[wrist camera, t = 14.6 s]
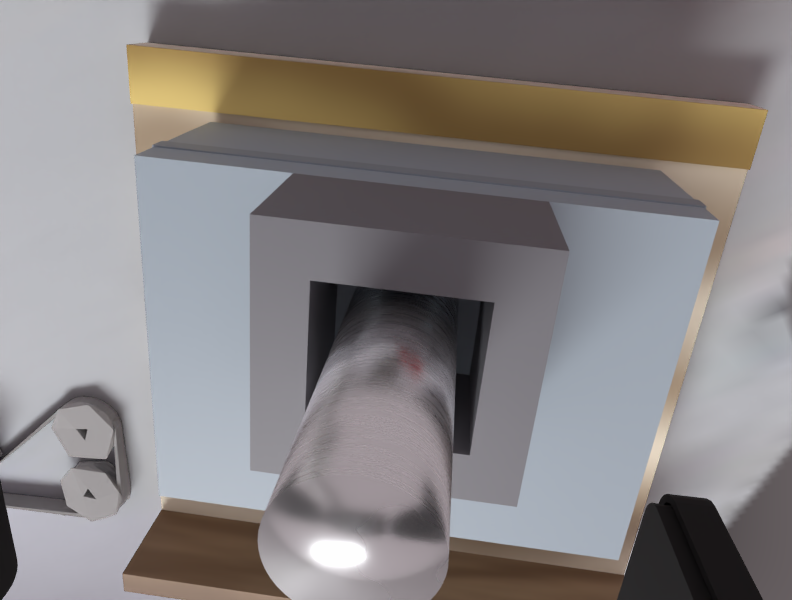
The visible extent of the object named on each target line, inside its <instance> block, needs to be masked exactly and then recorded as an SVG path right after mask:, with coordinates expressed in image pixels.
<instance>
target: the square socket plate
mask: <svg viewBox="0 0 792 600" xmlns="http://www.w3.org/2000/svg"><path fill="white" fill-rule="evenodd" d="M134 159H135V172H136V186H137V200H138V214H139V227H140V241H141V255H142V269H143V282H144V296H145V310H146V324H147V337H148V351H149V365H150V379H151V392H152V406H153V420H154V434H155V447H156V461H157V475H158V489H159V496H164V497H171V498H178V499H185V500H193V501H200V502H207V503H214V504H221V505H228V506H235V507H242V508H250V509H257V510H264V511H265V510H266V507H267V505H268V502H269V500H270V498H271V495H272V493H273V490H274V488H275V485H276V483H277V480H278V478H279V475H280V473H281V471H282V468H283V466H284V463H285V461H286V458H287V456H288V453H289V451H290V449H291V446H292V444H293V441H294V439H295V436H296V434H297V431H298V429H299V426H300V424H301V422H302V419H303V417H304V414H305V412H306V409H307V407H308V404H309V402H310V399H311V397H312V395H313V392H314V390H315V387H316V385H317V382H318V380H319V377H320V375H321V372H322V370H323V368H324V365H325V363H326V360H327V358H328V355H329V353H330V350H331V348H332V346H333V343H334V341H335V338H336V336H337V333H338V331H339V328H340V326H341V323H342V321H343V319H344V316H345V314H346V311H347V309H348V306H349V304H350V301H351V299H352V296H353V294H354V292H355V289H356V287H357V286H360V287H369V288H377V289H385V290H394V291H402V292H410V293H419V294H427V295H435V296H443V297H452V298H459V307H458V333H457V359H456V385H455V411H454V436H453V462H452V488H451V514H450V537H456V538H463V539H471V540H478V541H485V542H492V543H499V544H506V545H513V546H520V547H528V548H535V549H542V550H549V551H556V552H563V553H570V554H577V555H585V556H592V557H599V558H606V559H613V560H619V557H620V553H621V550H622V547H623V543H624V540H625V537H626V533H627V530H628V527H629V523H630V520H631V516H632V513H633V510H634V506H635V503H636V500H637V496H638V493H639V490H640V486H641V483H642V480H643V476H644V473H645V469H646V466H647V463H648V459H649V456H650V453H651V449H652V446H653V443H654V439H655V436H656V433H657V429H658V426H659V422H660V419H661V416H662V412H663V409H664V406H665V402H666V399H667V396H668V392H669V389H670V386H671V382H672V379H673V375H674V372H675V369H676V365H677V362H678V359H679V355H680V352H681V349H682V345H683V342H684V339H685V335H686V332H687V328H688V325H689V322H690V318H691V315H692V312H693V308H694V305H695V302H696V298H697V295H698V292H699V288H700V285H701V281H702V278H703V275H704V271H705V268H706V265H707V261H708V258H709V255H710V251H711V248H712V245H713V241H714V238H715V234H716V231H717V228H718V224H719V220H718V219H717V218H716V217H715V216H713V215H712V214H711V213H710V212H709V211H708V210H706V207H707V206H706V205H705V204H703V203H702V202H701V201H700V200H696V199H693V198H692V197H691V196H690V195H689V194H688V193H686V192H685V191H684V190H683V189H682V188H680V187H679V186H678V185H677V184H676V183H675V182H673V181H672V180H671V179H670V178H669V177H668V176H666V175H665V174H664V173H663V172H662V171H660V170H652V169H643V168H633V167H624V166H615V165H606V164H596V163H587V162H578V161H569V160H559V159H550V158H541V157H532V156H522V155H513V154H504V153H495V152H485V151H476V150H467V149H458V148H448V147H439V146H430V145H420V144H411V143H402V142H393V141H383V140H374V139H365V138H356V137H346V136H337V135H328V134H319V133H309V132H300V131H291V130H282V129H272V128H263V127H254V126H245V125H235V124H226V123H217V122H209V123H207V124H204V125H202V126H200V127H197V128H195V129H193V130H191V131H188V132H186V133H184V134H182V135H179V136H177V137H175V138H173V139H170V140H168V141H160V142H158V143H155V144H153V145H152V148H150V149H148V150H145V151H143V152H141V153H139V154H136V155H134Z"/></svg>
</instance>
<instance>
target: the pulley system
mask: <svg viewBox="0 0 792 600" xmlns="http://www.w3.org/2000/svg"><path fill="white" fill-rule="evenodd" d="M54 418H55V419H54ZM53 419H54V422H53V425H52V430H53V431H54V433H55V434H56V436H57V438H58V439H59V441H60V442H61V444H62V446H63V447H64V449H65V450H66V452H67V454H68V455H69V457H81V458H95V459H107V457H108V455H109V453H110V452H111V450H112V448H113V446H114V452H115V465H116V466H114V465H113V464H111V463H110V462H108V461H81V462H79V463H78V465H77V466H76V467H75V468H71V469H70V470H69V471H68V472H67V473H66V475H65V476H64V477H63V478H62V479H61V480H60V482H61V486H62V489H63V493H64V497H65V500H62V499H54V498H45V497H36V496H28V495H19V494H10V493H3V496H4V500H5V505H6V508H13V509H21V510H29V511H37V512H45V513H53V514H61V515H69V516H77V517H85V518H87V519H88V520H90V521H96V520H100V519H104V518H107V517H110V516H113V515H115V514H117V512H118V510H119V508H120V507H121V506H122V505H123V504H124V503H125V501H126V500H127V499H129V498H130V490H131V485H130V477H129V470H128V463H127V457H126V450H125V444H124V437H123V430H122V424H121V420H120V418H119V416H118V414H117V413H116V411H115V410H114V409H113V408H112V407H111V406H109V405H108V404H106V403H105V402H103V401H101V400H99V399H96V398H93V397H86V396H83V397H76V398H74V399H72V400H70V401H68V402H67V403H66V404H64V405H63V406H62V407H61V408H59V409H58V410H57V411H56V412H55V413H54V414H53V415H52V416H51V417H50V418H49V419H47V420H46V421H45V422H44V423H43V424H42V425H41V426H40V427H38V428H37V429H36V430H35V431H34V432H33V433H31V434H30V435H29V436H28V437H27V438H26V439H24V440H23V441H22V442H21V443H20V444H18V445H17V446H16V447H15V448H14V449H13V450H11V451H10V452H9V453H8V454H7V455H5V456H4V457H3V458H2V459H1V460H0V463H1V462H2V461H3V460H5V459H6V458H7V457H8V456H9V455H11V454H12V453H13V452H14V451H16V450H17V449H18V448H19V447H20V446H22V445H23V444H24V443H25V442H26V441H28V440H29V439H30V438H31V437H32V436H34V435H35V434H36V433H37V432H38V431H40V430H41V429H42V428H43V427H45V426H46V425H47V424H48V423H49V422H51V421H52V420H53ZM2 455H3V454H2V452H1V449H0V457H1V456H2Z"/></svg>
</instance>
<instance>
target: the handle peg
mask: <svg viewBox="0 0 792 600" xmlns="http://www.w3.org/2000/svg"><path fill="white" fill-rule="evenodd" d="M458 307H459V298H452V297H443V296H435V295H427V294H419V293H410V292H402V291H394V290H385V289H377V288H369V287H360V286H357V287H356V289H355V292H354V294H353V296H352V299H351V301H350V304H349V306H348V309H347V311H346V314H345V316H344V319H343V321H342V323H341V326H340V328H339V331H338V333H337V336H336V338H335V341H334V343H333V346H332V348H331V350H330V353H329V355H328V358H327V360H326V363H325V365H324V368H323V370H322V372H321V375H320V377H319V380H318V382H317V385H316V387H315V390H314V392H313V395H312V397H311V399H310V402H309V404H308V407H307V409H306V412H305V414H304V417H303V419H302V422H301V424H300V426H299V429H298V431H297V434H296V436H295V439H294V441H293V444H292V446H291V449H290V451H289V453H288V456H287V458H286V461H285V463H284V466H283V468H282V471H281V473H280V475H279V478H278V480H277V483H276V485H275V488H274V490H273V493H272V495H271V498H270V500H269V502H268V505H267V507H266V510H265V512H264V515H263V517H262V520H261V523H260V526H259V530H258V550H259V554H260V558H261V561H262V563H263V566H264V568H265V570H266V572H267V573H268V575H269V577H270V578H271V579H272V581H273V582H274V583H275V585H276V586H277V587H278V588H279V589H280V590H281V591H282V592H283V593H284V594H285V595H286V596H288V597H289V598H290V599H291V600H431V599H432V598H433V597H434V596H435V595H436V594H437V592H438V591H439V589H440V588H441V586H442V584H443V582H444V580H445V577H446V574H447V570H448V562H449V540H450V514H451V488H452V462H453V436H454V411H455V385H456V359H457V333H458Z"/></svg>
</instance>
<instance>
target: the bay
mask: <svg viewBox="0 0 792 600" xmlns="http://www.w3.org/2000/svg"><path fill="white" fill-rule="evenodd" d="M127 59H128V72H129V86H130V100H131V104H133V113H134V127H135V141H136V154H139V153H141V152H143V151H145V150H148V149H150V148H152V145H153V144H155V143H158V142H160V141H168V140H170V139H173V138H175V137H177V136H179V135H182V134H184V133H186V132H188V131H191V130H193V129H195V128H197V127H200V126H202V125H204V124H207V123H209V122H217V123H226V124H235V125H245V126H254V127H263V128H272V129H282V130H291V131H300V132H309V133H319V134H328V135H337V136H346V137H356V138H365V139H374V140H383V141H393V142H402V143H411V144H420V145H430V146H439V147H448V148H458V149H467V150H476V151H485V152H495V153H504V154H513V155H522V156H532V157H541V158H550V159H559V160H569V161H578V162H587V163H596V164H606V165H615V166H624V167H633V168H643V169H652V170H660V171H662V172H663V173H664V174H665V175H666V176H668V177H669V178H670V179H671V180H672V181H673V182H675V183H676V184H677V185H678V186H679V187H680V188H682V189H683V190H684V191H685V192H686V193H688V194H689V195H690V196H691V197H692V198H693V199H696V200H700V201H701V202H702V203H703V204H705V205H706V206H707V207H706V210H708V211H709V212H710V213H711V214H712V215H713V216H715V217H716V218H717V219H718V220H719V224H718V228H717V231H716V234H715V238H714V241H713V245H712V248H711V251H710V255H709V258H708V261H707V265H706V268H705V271H704V275H703V278H702V281H701V285H700V288H699V292H698V295H697V298H696V302H695V305H694V308H693V312H692V315H691V318H690V322H689V325H688V328H687V332H686V335H685V339H684V342H683V345H682V349H681V352H680V355H679V359H678V362H677V365H676V369H675V372H674V375H673V379H672V382H671V386H670V389H669V392H668V396H667V399H666V402H665V406H664V409H663V412H662V416H661V419H660V422H659V426H658V429H657V433H656V436H655V439H654V443H653V446H652V449H651V453H650V456H649V459H648V463H647V466H646V469H645V473H644V476H643V480H642V483H641V486H640V490H639V493H638V496H637V500H636V503H635V506H634V510H633V513H632V516H631V520H630V523H629V527H628V530H627V533H626V537H625V540H624V543H623V547H622V550H621V553H620V557H619V560H613V559H606V558H599V557H592V556H585V555H577V554H570V553H563V552H556V551H549V550H542V549H535V548H528V547H520V546H513V545H506V544H499V543H492V542H485V541H478V540H471V539H463V538H456V537H450V540H449V562H448V570H447V574H446V577H445V580H444V582H443V584H442V586H441V588H440V589H439V591H438V592H437V594H436V595H435V596H434V597H433V598H432V599H431V600H617V598H618V595H619V592H620V588H621V585H622V582H623V579H624V573H625V569H626V566H627V563H628V560H629V556H630V553H631V550H632V547H633V543H634V540H635V537H636V533H637V530H638V527H639V524H640V520H641V517H642V514H643V511H644V507H645V504H646V501H647V498H648V494H649V491H650V488H651V484H652V481H653V478H654V475H655V471H656V468H657V465H658V462H659V458H660V455H661V452H662V448H663V445H664V442H665V439H666V435H667V432H668V429H669V426H670V422H671V419H672V416H673V413H674V409H675V406H676V403H677V399H678V396H679V393H680V390H681V386H682V383H683V380H684V377H685V373H686V370H687V367H688V363H689V360H690V357H691V354H692V350H693V347H694V344H695V341H696V337H697V334H698V331H699V328H700V324H701V321H702V318H703V314H704V311H705V308H706V305H707V301H708V298H709V295H710V292H711V288H712V285H713V282H714V278H715V275H716V272H717V269H718V265H719V262H720V259H721V256H722V252H723V249H724V246H725V242H726V239H727V236H728V233H729V229H730V226H731V223H732V220H733V216H734V213H735V210H736V207H737V203H738V200H739V197H740V193H741V190H742V187H743V184H744V180H745V177H746V174H747V171H748V170H750V168H751V164H752V161H753V158H754V155H755V151H756V148H757V145H758V142H759V138H760V135H761V132H762V129H763V125H764V122H765V119H766V115H767V112H768V110H766V109H763V108H760V107H757V106H754V105H751V104H747V103H737V102H727V101H717V100H707V99H697V98H688V97H678V96H668V95H658V94H648V93H639V92H629V91H619V90H609V89H599V88H589V87H580V86H570V85H560V84H550V83H540V82H531V81H521V80H511V79H501V78H491V77H481V76H472V75H462V74H452V73H442V72H432V71H422V70H413V69H403V68H393V67H383V66H373V65H364V64H354V63H344V62H334V61H324V60H314V59H305V58H295V57H285V56H275V55H265V54H255V53H246V52H236V51H226V50H216V49H206V48H197V47H187V46H177V45H167V44H157V43H138V44H129V45H127ZM161 506H162V510H161V512H160V513H159V515H158V517H157V518H156V520H155V521H154V523H153V525H152V526H151V528H150V530H149V531H148V533H147V535H146V536H145V538H144V539H143V541H142V543H141V544H140V546H139V548H138V549H137V551H136V553H135V554H134V556H133V557H132V559H131V561H130V562H129V564H128V566H127V567H126V569H125V570H124V572H123V584H124V591H127V592H134V593H141V594H148V595H154V596H161V597H168V598H175V599H181V600H291V599H290V598H289V597H288V596H286V595H285V594H284V593H283V592H282V591H281V590H280V589H279V588H278V587H277V586H276V585H275V583H274V582H273V581H272V579H271V578H270V577H269V575H268V573H267V572H266V570H265V568H264V566H263V563H262V561H261V558H260V554H259V550H258V530H259V526H260V523H261V520H262V517H263V515H264V512H265V511H264V510H257V509H250V508H242V507H235V506H228V505H221V504H214V503H207V502H200V501H193V500H185V499H178V498H171V497H164V496H161Z"/></svg>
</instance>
